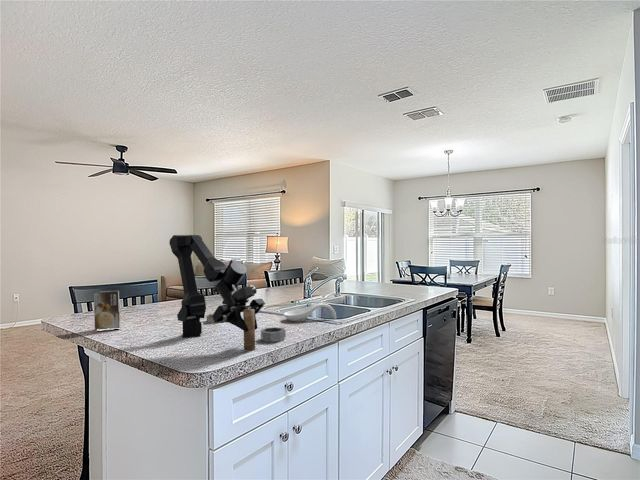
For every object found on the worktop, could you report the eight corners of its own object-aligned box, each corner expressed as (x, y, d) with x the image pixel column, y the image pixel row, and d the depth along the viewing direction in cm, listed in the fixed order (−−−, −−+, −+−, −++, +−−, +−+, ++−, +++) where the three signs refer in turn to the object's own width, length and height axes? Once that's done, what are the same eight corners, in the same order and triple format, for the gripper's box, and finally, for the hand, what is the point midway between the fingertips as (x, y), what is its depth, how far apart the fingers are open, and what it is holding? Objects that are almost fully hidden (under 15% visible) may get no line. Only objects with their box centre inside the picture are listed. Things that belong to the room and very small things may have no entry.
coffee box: (120, 327, 163) (120, 289, 163) (119, 330, 157) (119, 291, 157) (96, 329, 159) (95, 291, 159) (94, 332, 153) (93, 293, 153)
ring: (263, 343, 132) (263, 333, 132) (259, 337, 140) (259, 328, 140) (287, 340, 134) (287, 331, 134) (281, 335, 142) (281, 326, 142)
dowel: (244, 351, 122) (244, 311, 122) (243, 348, 125) (242, 309, 125) (255, 350, 123) (255, 310, 123) (254, 347, 127) (253, 308, 127)
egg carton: (208, 324, 166) (207, 315, 166) (205, 321, 173) (205, 312, 173) (232, 321, 170) (232, 312, 170) (229, 318, 177) (229, 310, 177)
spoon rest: (284, 324, 163) (284, 307, 163) (283, 318, 175) (282, 303, 175) (338, 321, 167) (338, 304, 167) (333, 316, 179) (332, 300, 179)
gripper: (217, 280, 120) (240, 319, 113) (260, 275, 134) (284, 309, 127) (202, 303, 124) (224, 341, 117) (246, 296, 139) (268, 330, 132)
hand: (252, 329), depth 123 cm, fingers closed on dowel, 4 cm apart
